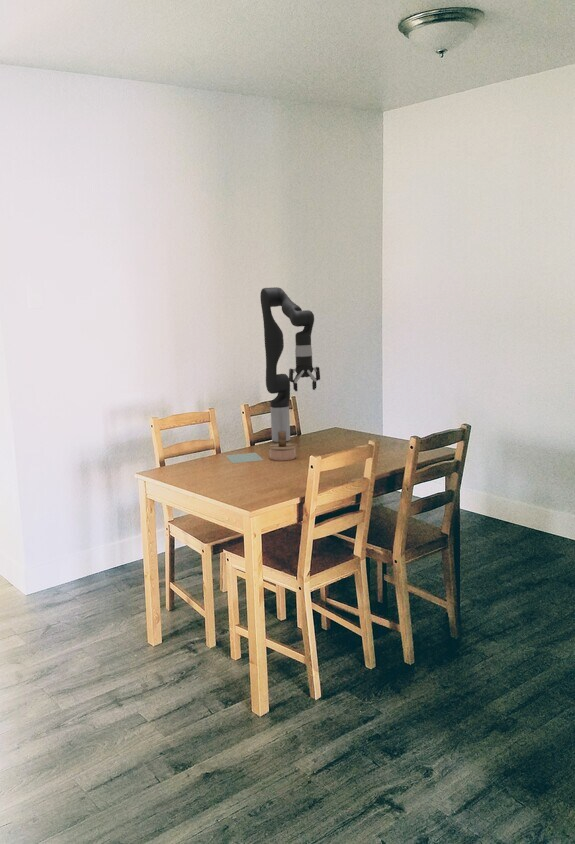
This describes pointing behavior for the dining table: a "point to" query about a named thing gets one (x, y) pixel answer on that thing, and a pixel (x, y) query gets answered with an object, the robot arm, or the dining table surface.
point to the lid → (282, 443)
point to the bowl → (283, 455)
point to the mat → (244, 457)
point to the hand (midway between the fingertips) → (305, 390)
